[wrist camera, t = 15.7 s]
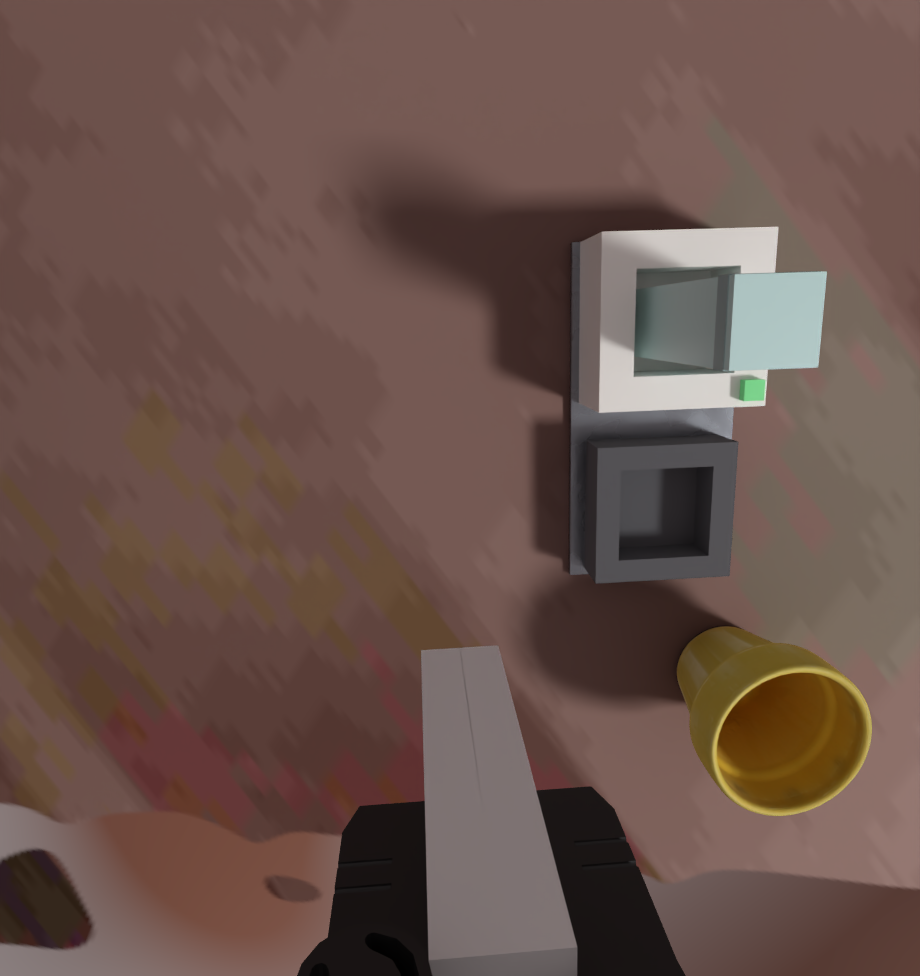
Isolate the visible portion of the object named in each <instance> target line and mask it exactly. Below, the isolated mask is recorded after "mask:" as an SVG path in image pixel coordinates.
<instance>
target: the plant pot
mask: <svg viewBox="0 0 920 976" xmlns="http://www.w3.org/2000/svg"><path fill="white" fill-rule="evenodd" d="M677 679H678V683H679V686H680V689H681V692H682V694H683V697H684V700H685V702H686V705H687V708H688V710H689V713H690V735H691V740H692V743H693V746H694V748H695V751H696V753H697V755H698V757H699V758H700V760H701V762H702V763H703V765H704V767H705V768H706V770H707V771H708V773H709V774H710V776H711V777H712V779H713V780H714V781H715V783H716V784H717V785H718V787H719V788H720V789H721V791H722V792H723V793H724V794H725V795H726V796H727V797H728V798H729V799H731V800H732V801H733V802H735V803H736V804H738V805H739V806H741V807H743V808H745V809H747V810H749V811H752V812H755V813H759V814H764V815H771V816H786V815H793V814H797V813H801V812H805V811H808V810H810V809H813V808H815V807H818V806H820V805H822V804H823V803H825V802H827V801H829V800H830V799H832V798H833V797H835V796H836V795H837V794H838V793H840V792H841V791H842V790H843V789H844V788H845V787H846V786H847V785H848V784H849V783H850V782H851V781H852V779H853V778H854V777H855V776H856V774H857V773H858V771H859V770H860V768H861V766H862V765H863V762H864V761H865V758H866V756H867V753H868V750H869V747H870V742H871V735H872V723H871V716H870V712H869V708H868V706H867V703H866V701H865V699H864V697H863V695H862V694H861V692H860V691H859V690H858V688H857V687H856V686H855V685H854V684H853V683H852V682H851V681H850V680H849V679H848V678H847V677H845V676H844V675H843V674H842V673H840V672H839V671H838V670H837V669H835V668H834V667H833V666H831V665H830V664H829V663H827V662H826V661H825V660H823V659H822V658H820V657H819V656H817V655H816V654H814V653H812V652H811V651H809V650H806V649H804V648H801V647H798V646H795V645H790V644H784V643H772V642H770V641H768V640H765V639H763V638H761V637H759V636H756V635H754V634H752V633H750V632H748V631H745V630H743V629H740V628H736V627H730V626H723V627H716V628H712V629H709V630H707V631H704V632H702V633H701V634H699V635H698V636H696V637H695V638H694V639H693V640H691V641H690V642H689V643H688V645H687V646H686V647H685V649H684V650H683V652H682V654H681V656H680V658H679V662H678V666H677Z"/></svg>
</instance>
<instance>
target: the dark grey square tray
mask: <svg viewBox="0 0 920 976" xmlns="http://www.w3.org/2000/svg"><path fill="white" fill-rule="evenodd" d="M737 454H738V442H737V441H734V440H732V439H729V438H726V437H723V436H721V435H718V434H715V435H692V436H670V437H647V438H625V439H602V440H586V469H585V554H584V568H585V569H586V571H587V572H588V573H589V575H590V576H591V578H592V579H593V581H594V582H595V583H614V582H632V581H649V580H667V579H684V578H702V577H720V576H729V575H730V560H731V545H732V529H733V514H734V499H735V484H736V469H737Z"/></svg>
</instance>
